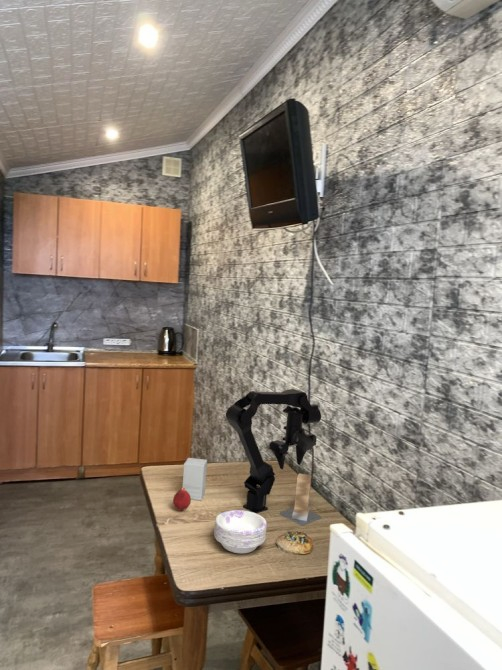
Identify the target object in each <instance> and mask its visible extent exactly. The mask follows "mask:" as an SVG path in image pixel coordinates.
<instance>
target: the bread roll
mask: <svg viewBox="0 0 502 670" xmlns="http://www.w3.org/2000/svg"><path fill="white" fill-rule="evenodd" d="M275 543H276V546H277V548H278V550H280V551H283V552H286V553H287V554H290V555H309V553H311V552H312V551H313V548H314V543H313V541H312V538H311V537H310V535H309V536H308V534H307V533H306V532H305V531H301V530H297V531H287V532H285V533H283V534H280V535H279V536H278V537H277V539H276V541H275Z"/></svg>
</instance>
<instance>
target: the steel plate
mask: <svg viewBox="0 0 502 670" xmlns="http://www.w3.org/2000/svg"><path fill="white" fill-rule="evenodd" d="M294 507H295V506H294ZM294 507H291V508H288V509H285V510H282V511H280V513H279V514H280V516H282V517H285V518H286V519H288V520H290V521H292V522H293V523H295V524H298V525H300V526H301V527H302V526H305V525H307V524H311V523H313V522H316V521H318V520H321V519H322V515H321V514H318V513H316V512H315V511H312V510H310V509H309V514H308V518H307V521H304V520H299V519H293V518H292V514H293V511H294Z"/></svg>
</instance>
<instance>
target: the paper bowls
mask: <svg viewBox="0 0 502 670" xmlns="http://www.w3.org/2000/svg"><path fill="white" fill-rule="evenodd" d="M267 522H268V521H266V519H265V518H264V517H263V515H260V514H259V513H253V512H252V511H250V510H243V509H242V510H239V509H234V510H233V509H232V510H227V511H224V512H221V513H219V514H218V515H217V516H216V517H215V521H214V530H213V531H214V532H213V533H214V534H213V535H214V538H215V540H216V541H217V542H218V543H220V544H221V546H222V547H223V548H224V549H225V550H226V551H229V552H231V553H233V554H234V553H235V554H248V553H252V552H253V551H255V550H256V549H257V548H258V547H259V546H261V545H262V544H263V543H265V541H266V537H267V527H268V526H267V525H268V524H267Z"/></svg>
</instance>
